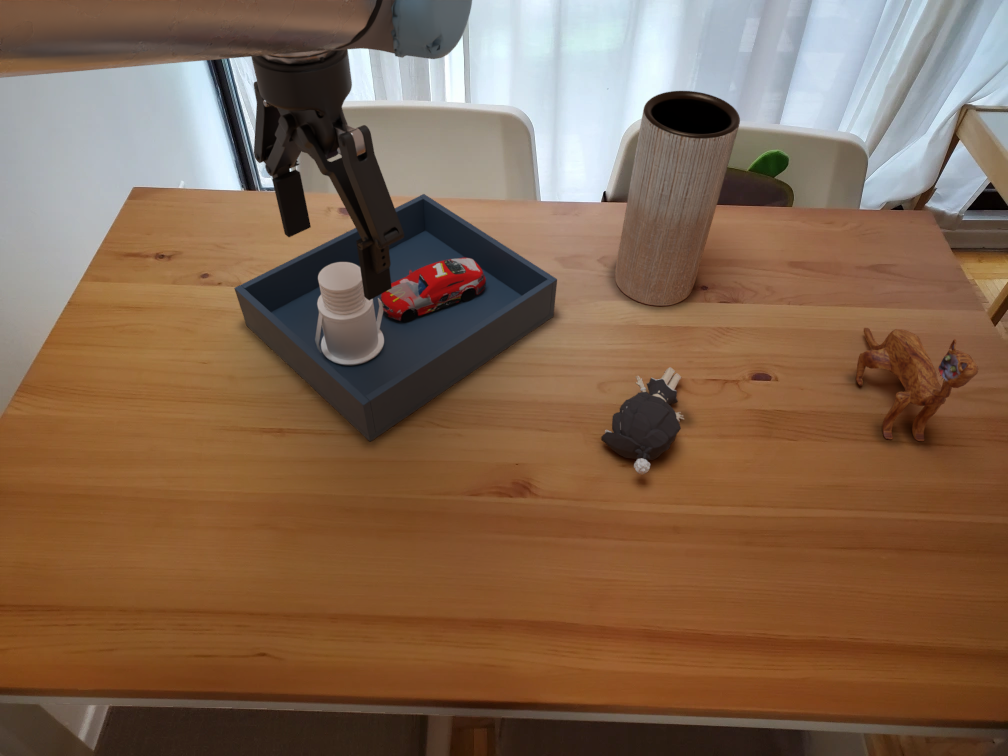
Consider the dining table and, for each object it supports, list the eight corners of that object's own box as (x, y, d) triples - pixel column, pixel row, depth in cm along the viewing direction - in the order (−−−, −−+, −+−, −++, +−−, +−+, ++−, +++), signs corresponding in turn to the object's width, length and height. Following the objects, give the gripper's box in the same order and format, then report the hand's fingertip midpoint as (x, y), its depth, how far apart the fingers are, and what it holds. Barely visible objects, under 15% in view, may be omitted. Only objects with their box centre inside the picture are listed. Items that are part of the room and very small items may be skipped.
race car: (390, 329, 83) (387, 303, 80) (373, 302, 87) (369, 276, 84) (491, 295, 88) (492, 269, 85) (471, 270, 91) (471, 244, 88)
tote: (370, 442, 73) (363, 405, 69) (246, 325, 84) (233, 287, 80) (553, 316, 87) (557, 279, 82) (426, 230, 98) (423, 193, 93)
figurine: (634, 365, 81) (579, 451, 71) (671, 335, 76) (617, 423, 66) (680, 406, 81) (632, 497, 71) (719, 378, 76) (674, 472, 66)
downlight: (370, 314, 85) (360, 245, 78) (399, 349, 81) (391, 280, 74) (307, 339, 82) (290, 270, 74) (334, 378, 78) (319, 309, 71)
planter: (686, 257, 95) (730, 91, 78) (699, 308, 88) (750, 137, 72) (611, 255, 95) (638, 88, 78) (617, 306, 88) (649, 134, 72)
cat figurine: (833, 334, 86) (880, 240, 76) (889, 336, 86) (943, 243, 76) (878, 455, 74) (941, 363, 64) (943, 459, 74) (1017, 367, 63)
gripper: (438, 83, 53) (446, 303, 68) (255, -11, 65) (297, 195, 80) (355, 116, 49) (383, 340, 65) (177, 10, 61) (237, 221, 76)
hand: (336, 260), depth 72 cm, fingers open, 13 cm apart
